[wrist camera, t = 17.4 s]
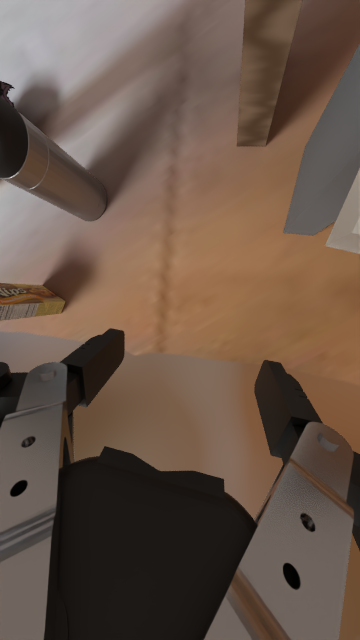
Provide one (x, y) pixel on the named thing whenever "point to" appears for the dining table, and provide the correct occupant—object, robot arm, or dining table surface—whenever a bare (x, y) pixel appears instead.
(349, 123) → the grey rectangular box
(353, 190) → the bar
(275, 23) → the tall wooden block
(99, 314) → the dining table surface
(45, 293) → the candy box
